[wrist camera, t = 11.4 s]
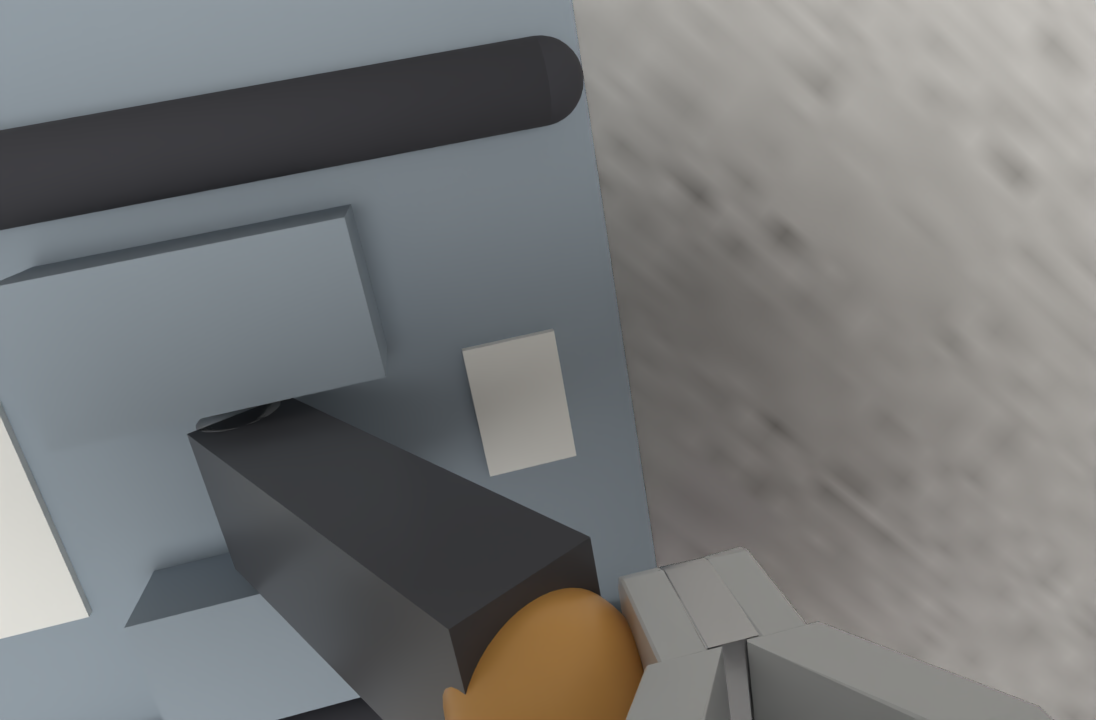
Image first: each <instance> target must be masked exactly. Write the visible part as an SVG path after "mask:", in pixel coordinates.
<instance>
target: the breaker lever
mask: <svg viewBox="0 0 1096 720" xmlns="http://www.w3.org/2000/svg"><path fill="white" fill-rule="evenodd" d="M187 436H188V439H189V442H190V444H191V447H192V450H193V453H194V456H195V458H196V461H197V464H198V467H199V469H200V472H201V475H202V478H203V481H204V483H205V486H206V489H207V492H208V494H209V497H210V500H211V503H212V506H213V508H214V511H215V514H216V517H217V520H218V522H219V525H220V528H221V531H222V533H223V536H224V539H225V542H226V545H227V547H228V550H229V553H230V556H231V558H232V561H233V564H234V567H235V569H236V570H237V571H238V572H239V573H240V574H241V575H242V576H243V577H244V578H245V579H246V580H247V581H248V582H249V583H250V584H251V585H252V586H253V587H254V588H255V589H256V590H257V592H258V593H259V594H260V595H261V596H262V597H263V598H264V599H265V600H266V601H267V602H268V603H269V604H270V605H271V606H272V607H273V608H274V609H275V610H276V611H277V612H278V613H279V614H280V615H281V616H282V617H283V618H284V619H285V620H286V621H287V622H288V623H289V624H290V625H291V626H292V627H293V628H294V629H295V630H296V631H297V632H298V633H299V634H300V636H301V637H302V638H303V639H304V640H305V641H306V642H307V643H308V644H309V645H310V646H311V647H312V648H313V649H314V650H315V651H316V652H317V653H318V654H319V655H320V656H321V657H322V658H323V659H324V660H325V661H326V662H327V663H328V664H329V665H330V666H331V667H332V668H333V669H334V670H335V671H336V672H337V673H338V674H339V675H340V676H341V677H342V679H343V680H344V681H345V682H346V683H347V684H348V685H349V686H350V687H351V688H352V689H353V690H354V691H355V692H356V693H357V694H358V695H359V696H360V697H361V698H362V699H363V700H364V701H365V702H366V703H367V704H368V705H369V706H370V707H371V708H372V709H373V710H374V711H375V712H376V713H377V714H378V715H379V716H380V717H381V718H382V719H383V720H626V717H627V715H628V712H629V709H630V707H631V704H632V702H633V699H634V696H635V694H636V691H637V689H638V686H639V683H640V681H641V678H642V676H643V673H644V671H643V667H642V663H641V659H640V656H639V652H638V649H637V646H636V643H635V640H634V637H633V634H632V631H631V629H630V626H629V624H628V622H627V620H626V619H625V617H624V616H623V615H622V614H621V612H619V611H618V610H617V609H616V608H615V607H614V606H613V605H612V604H610V603H609V602H608V601H607V600H605V599H604V598H602V597H601V594H600V588H599V582H598V577H597V571H596V566H595V560H594V555H593V549H592V544H591V538H590V537H589V536H587V535H585V534H583V533H581V532H579V531H576V530H574V529H572V528H570V527H568V526H566V525H564V524H561V523H559V522H557V521H555V520H553V519H551V518H549V517H546V516H544V515H542V514H540V513H538V512H536V511H534V510H531V509H529V508H527V507H525V506H523V505H521V504H519V503H517V502H514V501H512V500H510V499H508V498H506V497H504V496H502V495H499V494H497V493H495V492H493V491H491V490H489V489H487V488H484V487H482V486H480V485H478V484H476V483H474V482H472V481H469V480H467V479H465V478H463V477H461V476H459V475H457V474H455V473H452V472H450V471H448V470H446V469H444V468H442V467H440V466H437V465H435V464H433V463H431V462H429V461H427V460H425V459H422V458H420V457H418V456H416V455H414V454H412V453H410V452H407V451H405V450H403V449H401V448H399V447H397V446H395V445H393V444H390V443H388V442H386V441H384V440H382V439H380V438H378V437H375V436H373V435H371V434H369V433H367V432H365V431H363V430H360V429H358V428H356V427H354V426H352V425H350V424H348V423H345V422H343V421H341V420H339V419H337V418H335V417H333V416H331V415H328V414H326V413H324V412H322V411H320V410H318V409H316V408H313V407H311V406H309V405H307V404H305V403H303V402H301V401H298V400H296V399H294V398H290V399H286V400H281V401H277V402H272V403H268V404H263V405H259V406H255V407H250V408H246V409H241V410H237V411H232V412H228V413H223V414H219V415H214V416H210V417H205V418H201V419H200V420H199V421H198V422H197V424H196V431H193V432H191V433H188V434H187Z"/></svg>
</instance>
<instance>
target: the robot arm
mask: <svg viewBox="0 0 1096 720" xmlns="http://www.w3.org/2000/svg"><path fill="white" fill-rule="evenodd" d="M618 591H619V598H620V604H621V610H622V615H623V616H624V617H625V619H626V620H627V622H628V624H629V626H630V629H631V631H632V634H633V637H634V640H635V643H636V646H637V649H638V652H639V656H640V659H641V663H642V667H643V671H644V673H643V676H642V678H641V681H640V683H639V686H638V689H637V691H636V694H635V696H634V699H633V702H632V704H631V707H630V709H629V712H628V715H627V717H626V720H1053V719H1052V718H1051V717H1050V716H1049V715H1048V714H1047V713H1046V712H1045V711H1044V710H1043V709H1042V708H1041V707H1040V706H1037V705H1035V704H1032V703H1030V702H1027V701H1024V700H1022V699H1019V698H1017V697H1014V696H1011V695H1009V694H1006V693H1004V692H1001V691H998V690H996V689H993V688H991V687H988V686H985V685H983V684H980V683H978V682H975V681H972V680H970V679H967V678H965V677H962V676H959V675H957V674H954V673H952V672H949V671H946V670H944V669H941V668H939V667H936V666H933V665H931V664H928V663H926V662H923V661H920V660H918V659H915V658H913V657H910V656H907V655H905V654H902V653H900V652H897V651H894V650H892V649H889V648H887V647H884V646H881V645H879V644H876V643H874V642H871V641H868V640H866V639H863V638H861V637H858V636H855V635H853V634H850V633H848V632H845V631H842V630H840V629H837V628H835V627H832V626H829V625H827V624H824V623H822V622H819V621H818V622H814V623H810V624H806V622H805V621H804V620H803V619H802V617H801V616H800V615H799V614H798V612H797V611H796V610H795V609H794V607H793V606H792V605H791V604H790V602H789V601H788V600H787V599H786V597H785V596H784V595H783V593H782V592H781V591H780V590H779V588H778V587H777V586H776V585H775V583H774V582H773V581H772V580H771V578H770V577H769V576H768V575H767V573H766V572H765V571H764V570H763V568H762V567H761V566H760V564H759V563H758V562H757V561H756V559H755V558H754V557H753V556H752V554H751V553H750V552H749V551H748V549H745V548H743V547H737V548H734V549H730V550H727V551H723V552H720V553H716V554H712V555H709V556H705V557H703V558H699V559H694V560H689V561H685V562H680V563H676V564H671V565H667V566H662V567H659V568H658V567H657V568H653V569H649V570H645V571H641V572H637V573H633V574H629V575H625V576H621V577H619V581H618Z"/></svg>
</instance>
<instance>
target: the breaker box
mask: <svg viewBox="0 0 1096 720" xmlns="http://www.w3.org/2000/svg"><path fill="white" fill-rule="evenodd" d="M538 35H544V36H551V37H554V38H556V39H559V40H561V41H562V42H564V43H565V44H567V45H568V46H569V47H570V48H571V49H572V50H573V51H574V53H575V54H576V56H577V57H578V59H579V61H580V64H581V67H582V63H581V57H580V50H579V43H578V37H577V30H576V23H575V17H574V10H573V3H572V0H0V130H5V129H10V128H16V127H22V126H27V125H33V124H39V123H44V122H50V121H55V120H61V119H67V118H72V117H78V116H84V115H89V114H95V113H101V112H106V111H112V110H118V109H123V108H129V107H134V106H140V105H146V104H151V103H157V102H163V101H168V100H174V99H180V98H185V97H191V96H196V95H202V94H208V93H213V92H219V91H225V90H230V89H236V88H242V87H247V86H253V85H259V84H264V83H270V82H275V81H281V80H287V79H292V78H298V77H304V76H309V75H315V74H321V73H326V72H332V71H337V70H343V69H349V68H354V67H360V66H366V65H371V64H377V63H383V62H388V61H394V60H400V59H405V58H411V57H416V56H422V55H428V54H433V53H439V52H445V51H450V50H456V49H462V48H467V47H473V46H478V45H484V44H490V43H495V42H501V41H507V40H512V39H518V38H524V37H529V36H538ZM290 398H294V399H296V400H298V401H301V402H303V403H305V404H307V405H309V406H311V407H313V408H316V409H318V410H320V411H322V412H324V413H326V414H328V415H331V416H333V417H335V418H337V419H339V420H341V421H343V422H345V423H348V424H350V425H352V426H354V427H356V428H358V429H360V430H363V431H365V432H367V433H369V434H371V435H373V436H375V437H378V438H380V439H382V440H384V441H386V442H388V443H390V444H393V445H395V446H397V447H399V448H401V449H403V450H405V451H407V452H410V453H412V454H414V455H416V456H418V457H420V458H422V459H425V460H427V461H429V462H431V463H433V464H435V465H437V466H440V467H442V468H444V469H446V470H448V471H450V472H452V473H455V474H457V475H459V476H461V477H463V478H465V479H467V480H469V481H472V482H474V483H476V484H478V485H480V486H482V487H484V488H487V489H489V490H491V491H493V492H495V493H497V494H499V495H502V496H504V497H506V498H508V499H510V500H512V501H514V502H517V503H519V504H521V505H523V506H525V507H527V508H529V509H531V510H534V511H536V512H538V513H540V514H542V515H544V516H546V517H549V518H551V519H553V520H555V521H557V522H559V523H561V524H564V525H566V526H568V527H570V528H572V529H574V530H576V531H579V532H581V533H583V534H585V535H587V536H589V537H590V538H591V544H592V549H593V555H594V560H595V566H596V571H597V577H598V582H599V588H600V594H601V597H602V598H604V599H605V600H607V601H608V602H609V603H610V604H612V605H613V606H614V607H615V608H616V609H617V610H618V611H619V612H621V613H622V610H621V604H620V598H619V591H618V581H619V577H621V576H625V575H629V574H633V573H637V572H641V571H645V570H649V569H653V568H657V565H656V559H655V552H654V545H653V539H652V532H651V525H650V518H649V512H648V505H647V498H646V492H645V485H644V478H643V472H642V465H641V458H640V452H639V445H638V438H637V431H636V425H635V418H634V411H633V405H632V398H631V391H630V385H629V378H628V371H627V365H626V358H625V351H624V344H623V338H622V331H621V324H620V318H619V311H618V304H617V298H616V291H615V284H614V278H613V271H612V264H611V257H610V251H609V244H608V237H607V231H606V224H605V217H604V211H603V204H602V197H601V191H600V184H599V177H598V170H597V164H596V157H595V150H594V144H593V137H592V130H591V124H590V117H589V110H588V104H587V97H586V90H585V83H583V91H582V95H581V98H580V100H579V102H578V104H577V106H576V107H575V109H574V110H573V111H572V113H571V114H569V115H568V116H567V117H566V118H565V119H563V120H561V121H559V122H557V123H555V124H552V125H548V126H543V127H538V128H533V129H528V130H522V131H517V132H512V133H507V134H501V135H496V136H491V137H486V138H480V139H475V140H470V141H465V142H460V143H454V144H449V145H444V146H439V147H433V148H428V149H423V150H418V151H413V152H407V153H402V154H397V155H392V156H386V157H381V158H376V159H371V160H365V161H360V162H355V163H350V164H345V165H339V166H334V167H329V168H324V169H318V170H313V171H308V172H303V173H297V174H292V175H287V176H282V177H277V178H271V179H266V180H261V181H256V182H250V183H245V184H240V185H235V186H229V187H224V188H219V189H214V190H209V191H203V192H198V193H193V194H188V195H182V196H177V197H172V198H167V199H161V200H156V201H151V202H146V203H141V204H135V205H130V206H125V207H120V208H114V209H109V210H104V211H99V212H93V213H88V214H83V215H78V216H73V217H67V218H62V219H57V220H52V221H46V222H41V223H36V224H31V225H26V226H20V227H15V228H10V229H5V230H0V720H278V719H282V718H285V717H289V716H293V715H297V714H300V713H304V712H308V711H311V710H315V709H319V708H323V707H326V706H330V705H334V704H337V703H341V702H345V701H349V700H352V699H356V698H360V696H359V695H358V694H357V693H356V692H355V691H354V690H353V689H352V688H351V687H350V686H349V685H348V684H347V683H346V682H345V681H344V680H343V679H342V677H341V676H340V675H339V674H338V673H337V672H336V671H335V670H334V669H333V668H332V667H331V666H330V665H329V664H328V663H327V662H326V661H325V660H324V659H323V658H322V657H321V656H320V655H319V654H318V653H317V652H316V651H315V650H314V649H313V648H312V647H311V646H310V645H309V644H308V643H307V642H306V641H305V640H304V639H303V638H302V637H301V636H300V634H299V633H298V632H297V631H296V630H295V629H294V628H293V627H292V626H291V625H290V624H289V623H288V622H287V621H286V620H285V619H284V618H283V617H282V616H281V615H280V614H279V613H278V612H277V611H276V610H275V609H274V608H273V607H272V606H271V605H270V604H269V603H268V602H267V601H266V600H265V599H264V598H263V597H262V596H261V595H260V594H259V593H258V592H257V590H256V589H255V588H254V587H253V586H252V585H251V584H250V583H249V582H248V581H247V580H246V579H245V578H244V577H243V576H242V575H241V574H240V573H239V572H238V571H237V570H236V569H235V567H234V564H233V561H232V558H231V556H230V553H229V550H228V547H227V545H226V542H225V539H224V536H223V533H222V531H221V528H220V525H219V522H218V520H217V517H216V514H215V511H214V508H213V506H212V503H211V500H210V497H209V494H208V492H207V489H206V486H205V483H204V481H203V478H202V475H201V472H200V469H199V467H198V464H197V461H196V458H195V456H194V453H193V450H192V447H191V444H190V442H189V439H188V436H187V434H188V433H191V432H193V431H196V424H197V422H198V421H199V420H200V419H201V418H205V417H210V416H214V415H219V414H223V413H228V412H232V411H237V410H241V409H246V408H250V407H255V406H259V405H263V404H268V403H272V402H277V401H281V400H286V399H290Z"/></svg>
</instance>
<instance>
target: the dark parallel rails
mask: <svg viewBox="0 0 1096 720" xmlns="http://www.w3.org/2000/svg"><path fill="white" fill-rule="evenodd" d="M583 83H584V76H583V70H582V67H581V64H580V61H579V59H578V57H577V56H576V54H575V53H574V51H573V50H572V49H571V48H570V47H569V46H568V45H567V44H565V43H564V42H562V41H561V40H559V39H556V38H554V37H551V36H544V35H538V36H529V37H524V38H518V39H512V40H507V41H501V42H495V43H490V44H484V45H478V46H473V47H467V48H462V49H456V50H450V51H445V52H439V53H433V54H428V55H422V56H416V57H411V58H405V59H400V60H394V61H388V62H383V63H377V64H371V65H366V66H360V67H354V68H349V69H343V70H337V71H332V72H326V73H321V74H315V75H309V76H304V77H298V78H292V79H287V80H281V81H275V82H270V83H264V84H259V85H253V86H247V87H242V88H236V89H230V90H225V91H219V92H213V93H208V94H202V95H196V96H191V97H185V98H180V99H174V100H168V101H163V102H157V103H151V104H146V105H140V106H134V107H129V108H123V109H118V110H112V111H106V112H101V113H95V114H89V115H84V116H78V117H72V118H67V119H61V120H55V121H50V122H44V123H39V124H33V125H27V126H22V127H16V128H10V129H5V130H0V230H5V229H10V228H15V227H20V226H26V225H31V224H36V223H41V222H46V221H52V220H57V219H62V218H67V217H73V216H78V215H83V214H88V213H93V212H99V211H104V210H109V209H114V208H120V207H125V206H130V205H135V204H141V203H146V202H151V201H156V200H161V199H167V198H172V197H177V196H182V195H188V194H193V193H198V192H203V191H209V190H214V189H219V188H224V187H229V186H235V185H240V184H245V183H250V182H256V181H261V180H266V179H271V178H277V177H282V176H287V175H292V174H297V173H303V172H308V171H313V170H318V169H324V168H329V167H334V166H339V165H345V164H350V163H355V162H360V161H365V160H371V159H376V158H381V157H386V156H392V155H397V154H402V153H407V152H413V151H418V150H423V149H428V148H433V147H439V146H444V145H449V144H454V143H460V142H465V141H470V140H475V139H480V138H486V137H491V136H496V135H501V134H507V133H512V132H517V131H522V130H528V129H533V128H538V127H543V126H548V125H552V124H555V123H557V122H559V121H561V120H563V119H565V118H566V117H567V116H568V115H569V114H571V113H572V111H573V110H574V109H575V107H576V106H577V104H578V102H579V100H580V98H581V95H582V91H583ZM621 614H622V613H621ZM278 720H383V719H382V718H381V717H380V716H379V715H378V714H377V713H376V712H375V711H374V710H373V709H372V708H371V707H370V706H369V705H368V704H367V703H366V702H365V701H364V700H363V699H362V698H361V697H360V698H356V699H352V700H349V701H345V702H341V703H337V704H334V705H330V706H326V707H323V708H319V709H315V710H311V711H308V712H304V713H300V714H297V715H293V716H289V717H285V718H282V719H278Z"/></svg>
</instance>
